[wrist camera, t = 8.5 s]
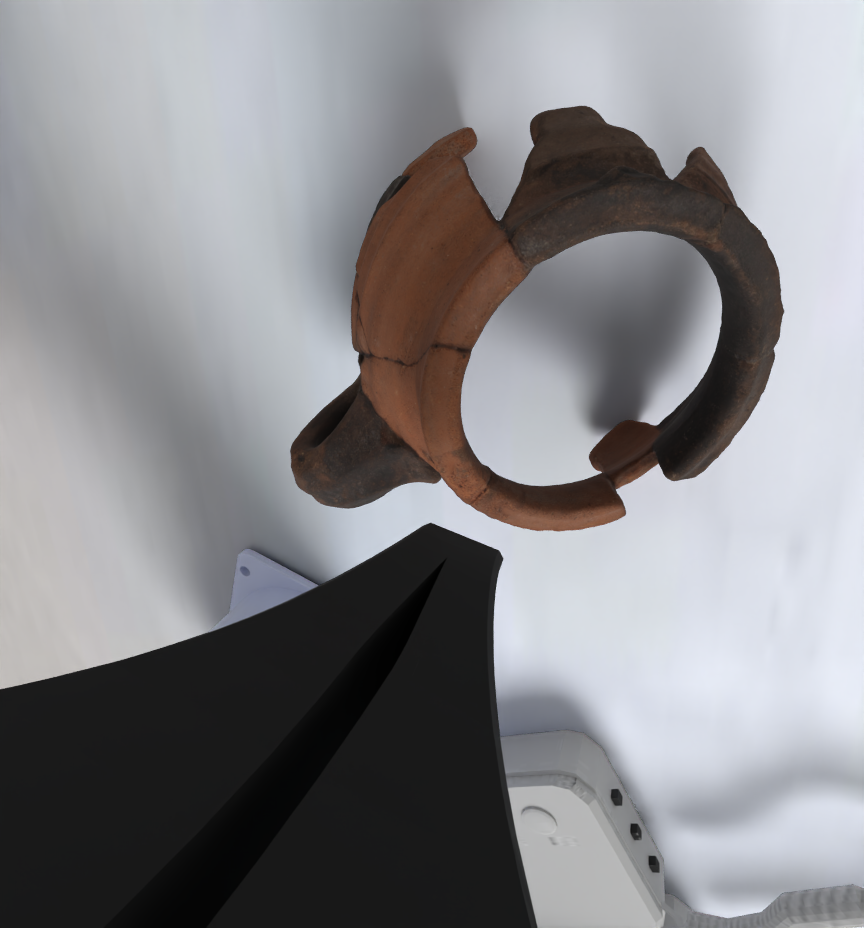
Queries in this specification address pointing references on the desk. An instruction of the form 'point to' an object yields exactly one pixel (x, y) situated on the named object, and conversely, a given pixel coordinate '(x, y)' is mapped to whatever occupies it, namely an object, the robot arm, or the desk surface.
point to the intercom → (617, 849)
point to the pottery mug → (488, 284)
